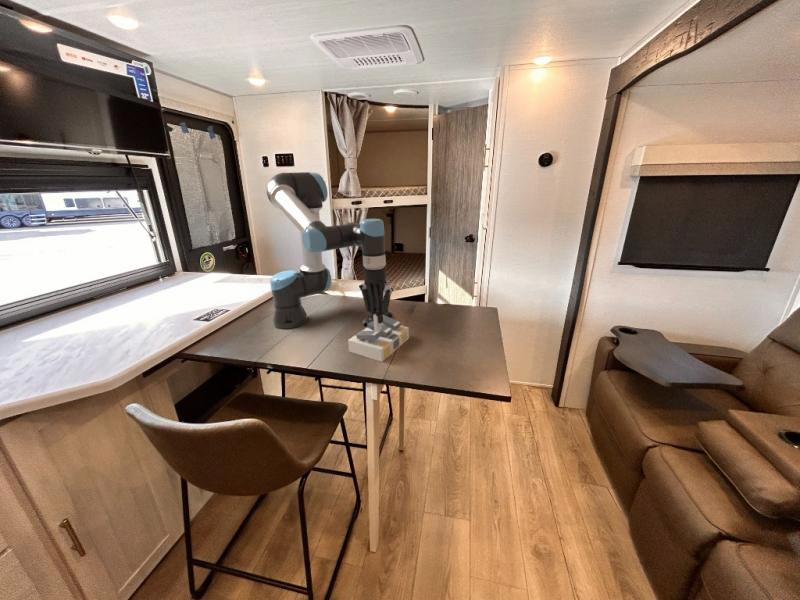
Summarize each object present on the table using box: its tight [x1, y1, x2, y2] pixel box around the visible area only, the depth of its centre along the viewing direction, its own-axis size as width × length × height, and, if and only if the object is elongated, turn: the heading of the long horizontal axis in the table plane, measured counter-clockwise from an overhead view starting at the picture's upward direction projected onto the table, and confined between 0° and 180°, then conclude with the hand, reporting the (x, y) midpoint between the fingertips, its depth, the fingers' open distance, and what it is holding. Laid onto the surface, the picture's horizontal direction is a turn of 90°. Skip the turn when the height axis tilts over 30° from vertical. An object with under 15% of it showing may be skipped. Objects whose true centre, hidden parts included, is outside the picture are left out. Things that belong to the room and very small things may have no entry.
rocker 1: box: [355, 330, 382, 340], centre depth 115 cm, size 9×4×2 cm, turn 59°
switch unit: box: [347, 324, 410, 363], centre depth 122 cm, size 15×20×6 cm
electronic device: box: [362, 311, 395, 327], centre depth 143 cm, size 9×6×15 cm
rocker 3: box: [382, 315, 402, 330], centre depth 126 cm, size 9×4×2 cm, turn 60°
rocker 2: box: [366, 321, 392, 337], centre depth 120 cm, size 9×4×2 cm, turn 60°
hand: (378, 330), depth 112 cm, fingers closed
